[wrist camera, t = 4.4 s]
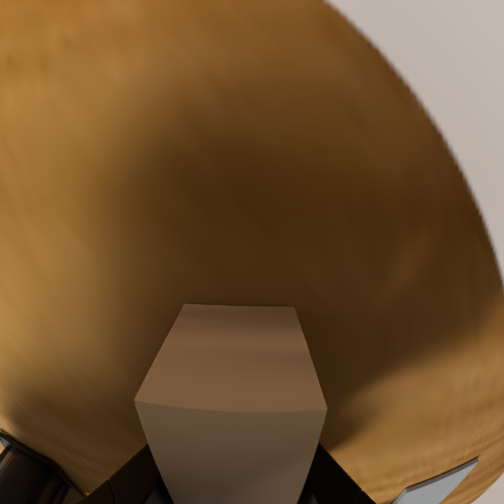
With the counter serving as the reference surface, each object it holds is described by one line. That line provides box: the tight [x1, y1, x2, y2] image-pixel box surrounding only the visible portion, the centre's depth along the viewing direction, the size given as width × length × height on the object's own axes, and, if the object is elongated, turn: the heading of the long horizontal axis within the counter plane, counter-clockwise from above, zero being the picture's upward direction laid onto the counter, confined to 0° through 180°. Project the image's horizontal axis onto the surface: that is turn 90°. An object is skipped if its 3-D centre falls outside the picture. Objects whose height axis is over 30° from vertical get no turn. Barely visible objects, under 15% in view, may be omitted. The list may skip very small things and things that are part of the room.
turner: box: [134, 304, 328, 504], centre depth 7 cm, size 13×6×4 cm, turn 179°
